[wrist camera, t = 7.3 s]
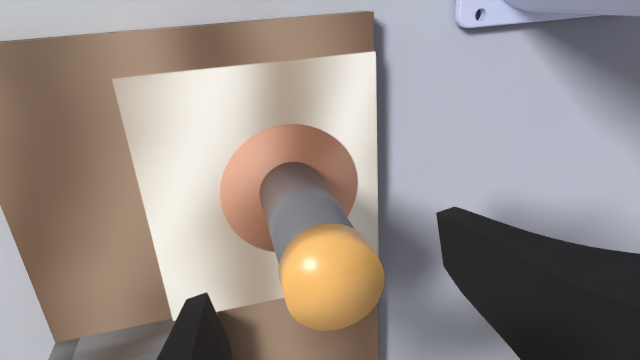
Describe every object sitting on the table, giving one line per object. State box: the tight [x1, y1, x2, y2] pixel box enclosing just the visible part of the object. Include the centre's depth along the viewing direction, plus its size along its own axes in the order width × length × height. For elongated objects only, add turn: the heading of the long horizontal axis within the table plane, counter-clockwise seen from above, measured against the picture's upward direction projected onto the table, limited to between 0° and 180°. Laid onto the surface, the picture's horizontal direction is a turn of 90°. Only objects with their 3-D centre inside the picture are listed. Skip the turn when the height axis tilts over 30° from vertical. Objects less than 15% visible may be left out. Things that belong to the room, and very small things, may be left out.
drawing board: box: [0, 11, 379, 360], centre depth 19 cm, size 15×20×3 cm
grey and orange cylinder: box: [260, 162, 385, 331], centre depth 16 cm, size 3×3×7 cm
